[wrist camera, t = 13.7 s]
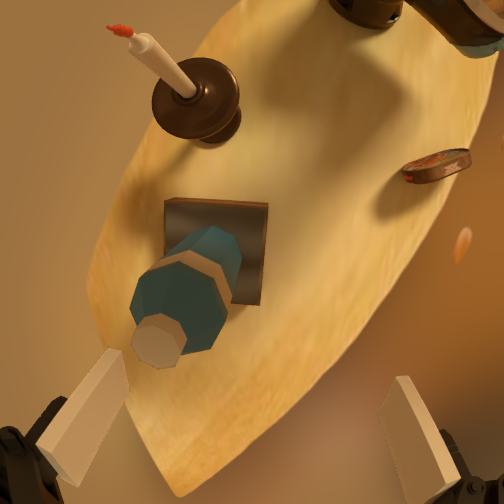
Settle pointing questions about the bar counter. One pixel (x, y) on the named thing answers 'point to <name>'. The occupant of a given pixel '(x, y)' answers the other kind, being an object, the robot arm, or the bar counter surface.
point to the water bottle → (185, 297)
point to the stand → (232, 221)
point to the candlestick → (188, 91)
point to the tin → (437, 166)
